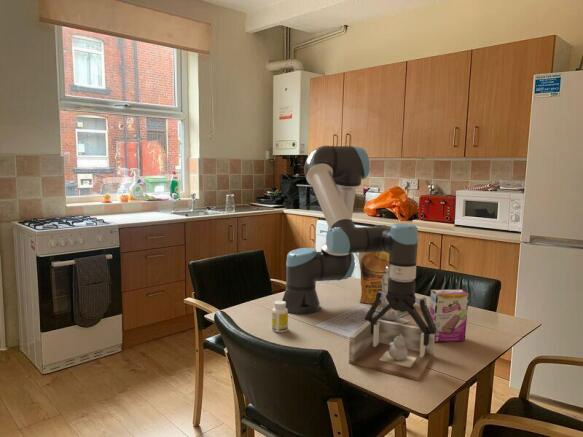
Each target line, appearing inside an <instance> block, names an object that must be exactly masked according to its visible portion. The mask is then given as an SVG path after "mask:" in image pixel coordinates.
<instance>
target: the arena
mask: <svg viewBox="0 0 583 437" xmlns="http://www.w3.org/2000/svg"><path fill="white" fill-rule="evenodd" d="M377 322H379V344H378V345H377V346H376V347H375V346H373V336H374V334H371V323H370V322H369V321H365V323H363V324H362V325H361V326H360V327H358V329H356V330H355V331H354V332H353V333H351V335H350V336H349V342H348V345H349V347H348V364H351V365H355V366H359V367H362V368H367V369H370V370H375V371H378V372H382V373H387V374H390V375H394V376H398V377H402V378H405V379H410V380H413V381H417V382H419V381H420V380H421V378H422V376H423V375H424V373H425V371H426V370H427V369H428V366H429V364H430V363H431V360H432V359H433V358H434V355H435V354H434V351H435V342H434V338H435V334H430V335H429V344H428V345H427V346H425V354H424V356H423V357H420V342H421V334H422V330H421V329H420V328H419V326H415V325H409V324H404V323H400V322H395V321H389V320H384V319H381V318H380V319H379V320H377V321H376V323H377ZM400 334H401V335H402V336H403V339H404V340H405V347H406V348H407V351H408V354H407V358H406V359H404V360H400V361H399V360H395V359H394V358H392V357H391V356H390V355H389V349H390V343H391V342H394V339H395V338H396V337H397V336H398V337H399V335H400Z"/></svg>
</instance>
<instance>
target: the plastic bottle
mask: <svg viewBox="0 0 583 437" xmlns="http://www.w3.org/2000/svg"><path fill="white" fill-rule="evenodd" d="M385 271H386V273H385V274H384V276H383V277H382V280H381V283H382V291H383V293H388V279H389V278H390V277H389V266H386V270H385ZM388 304H389V302H388V301H387V299H386V298H384V299H383V300H382V303H381V304H380V305H381V306H380V310H379V313H380V312H381V311H382V310H383V309H384V308H385V307H386V306H387V305H388ZM398 315H399V311H396V310H394V309H392V307H391V308H390V309H389V310H388V311H387V312H386V313H385V314H384V315H383V316H382V317H381V320H385V321H390V322H393V321H396V320H397V319H398Z"/></svg>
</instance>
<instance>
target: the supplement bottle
mask: <svg viewBox="0 0 583 437" xmlns="http://www.w3.org/2000/svg"><path fill="white" fill-rule="evenodd" d="M273 304H274V305H273V308H272V310H271V321H272V322H271V330H272V331H273V332H275V333H285V332H287V331H288V328H289V327H288V325H289V324H288V323H289V312H288V309H287V308H285V307H286V302H285V301H282V300H275V301H274V303H273Z"/></svg>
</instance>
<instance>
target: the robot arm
mask: <svg viewBox="0 0 583 437" xmlns="http://www.w3.org/2000/svg"><path fill="white" fill-rule="evenodd" d="M370 166H371V165H370V158H369V156H368V153H367V151H366V150H365V148H363V147H360V146H353V145H341V146H340V145H321V146H319V147H316V148H315V149H313V150H312V151H311V152H310V153H309V154H308V156H307V158H306V159H305V162H304V167H303V172H304V176H305V180H306V182H307V183H308V184H309V185H310V186H312V189H313V192H314V194H315V196H316V199H317V202H318V205H319V206H320V209H321V211H322V214H323V216H324V218H325V222H326V224H327V232H326V238H325V243H323V244H322V246H321V250H320V251H317V249H316V248H313V247H300V248H296V249H293V250H290V251H289V252H288V253H287V255H286V263H285V265H286V274H285V275H286V277H285V278H286V280H285V281H286V283H285V290H284V295H283V297H282V300H281V301H285V302H286V307H285V308H287V309H288V313H290V314H298V315H300V314H301V315H302V314H303V315H305V314H313V313H316V312H318V311H319V310H320V309H321V308H320V304H321V303H320V299H319V295H318V294H317V292H318V291H317V288H316V287H317V286H316V283H317V282H326V281H328V282H329V281H341V280H347V279H349V278H351V276H352V275H353V273H354V270H355V266H356V262H355V260H356V259H355V255H354V254H355V253H358V254H359V252H386V253H389V277H390V278H389V279H388V293H383V291H379V292H378V293H377V294H376V300H375V302H374V303H372V305H371V307H370V309H369V310H368V312H367V313H366V315H365V317H364V321H365V322H367V321H369V322H370V323H371V334H374V336H373V346H375V347H376V346H377V345H378V344H379V322H377V323H376V321H377V320H379V319H380V320H381V319H382V316H383V315H384V314H385V313H386V312H387V311H388V310H389V309H390V308H391V307H392V309H394V310H396V311H398V312H402V313H408V315H410V316H411V318H412V319H413V320H414V322H415V323H416V325H417V327H419V328H420V329H421V330H422V334H421V342H420V357H423V356H424V354H425V346H427V345H428V344H429V335H430V334H435V332H436V331H437V329H436V326H435V324H434V322H433V319H432V317H431V315H430V312H429V308H428V305H427V298H426V297H422V298H418V297H417V298H416V294H415V293H416V280H415V279H416V277H417V261H418V259H417V258H418V244H419V236H418V234H419V230H418V227H417V226H416V225H414V224H408V223H393V224H392V225H391V226H388V225H385V224H376V225H373V226H364V227H363V226H362V227H361V226H358V227H357V226H356V225H355V224H354V221H353V219H352V218H353V212H354V206H355V197H356V191H357V188H359V187H360V186H361V185H362V180H364V179H366V178H368V176H369V174H370ZM384 298H386V299H387V301H388V302H389V304H388V305H387V306H386V307H385V308H384V309H383V310H382V311H381V312H380V311H379V313H377V315H375V316H374V317H373V315H374V314H375V312H376V310H377V308H378V307H379V306H380V305H381V303H380V302H381V300H383V299H384ZM415 303H416V304H417V306H418V307H420V311H421V313H422V316H423V318H424V319H423V318H422V316H421V315H420V314H419V312H418V311H417V308H416V307H415ZM424 320H425V321H424Z"/></svg>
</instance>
